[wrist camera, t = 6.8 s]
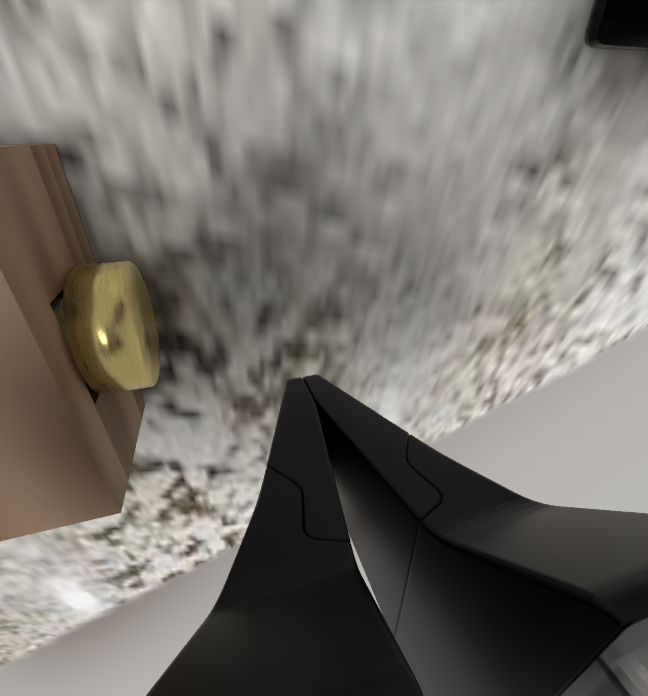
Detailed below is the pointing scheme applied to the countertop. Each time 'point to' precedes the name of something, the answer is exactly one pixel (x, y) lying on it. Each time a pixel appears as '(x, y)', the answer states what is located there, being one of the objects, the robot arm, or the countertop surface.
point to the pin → (110, 326)
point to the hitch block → (50, 363)
